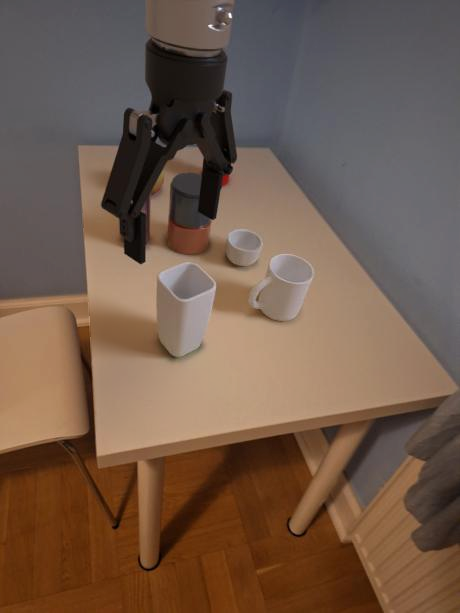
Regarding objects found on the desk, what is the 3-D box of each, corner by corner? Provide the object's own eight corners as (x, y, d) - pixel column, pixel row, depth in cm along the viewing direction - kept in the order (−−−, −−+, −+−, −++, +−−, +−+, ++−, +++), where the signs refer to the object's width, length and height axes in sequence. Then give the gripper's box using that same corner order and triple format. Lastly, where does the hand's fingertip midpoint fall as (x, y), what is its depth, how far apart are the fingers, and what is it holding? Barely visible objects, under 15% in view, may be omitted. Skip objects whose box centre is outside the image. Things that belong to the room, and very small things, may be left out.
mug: (254, 332, 75) (266, 292, 68) (234, 301, 80) (243, 261, 72) (306, 316, 80) (322, 278, 73) (284, 289, 85) (297, 250, 77)
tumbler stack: (163, 250, 87) (166, 190, 77) (171, 226, 94) (174, 168, 84) (205, 257, 88) (214, 199, 78) (210, 233, 94) (218, 176, 84)
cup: (150, 337, 70) (152, 273, 60) (184, 321, 74) (192, 258, 64) (174, 366, 67) (180, 304, 56) (208, 348, 71) (221, 286, 60)
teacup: (261, 271, 87) (266, 251, 84) (226, 271, 86) (230, 251, 82) (251, 243, 94) (256, 223, 90) (219, 242, 92) (223, 222, 89)
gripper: (110, 78, 28) (120, 297, 43) (290, 42, 43) (251, 211, 58) (40, 45, 30) (73, 263, 45) (234, 22, 46) (210, 190, 61)
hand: (173, 234), depth 52 cm, fingers open, 13 cm apart
